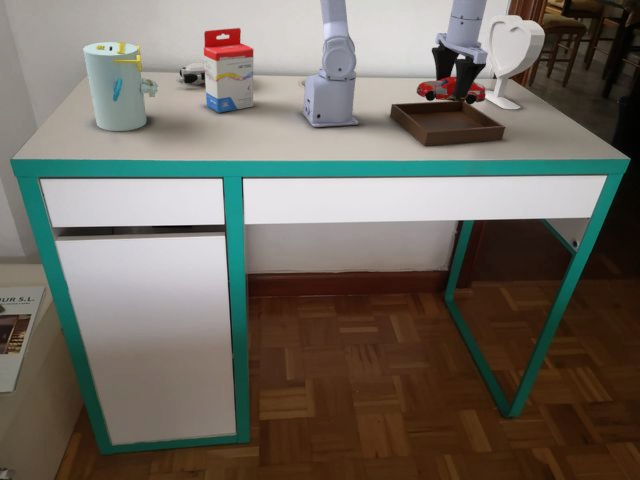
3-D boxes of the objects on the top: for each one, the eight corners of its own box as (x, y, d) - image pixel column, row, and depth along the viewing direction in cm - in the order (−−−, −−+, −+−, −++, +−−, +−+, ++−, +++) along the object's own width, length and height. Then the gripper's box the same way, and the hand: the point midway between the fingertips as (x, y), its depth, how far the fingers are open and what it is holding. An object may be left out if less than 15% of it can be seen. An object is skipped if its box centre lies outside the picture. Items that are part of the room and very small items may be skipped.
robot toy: (176, 94, 112) (245, 93, 113) (172, 73, 110) (243, 72, 110) (186, 77, 123) (249, 76, 123) (183, 58, 120) (248, 57, 120)
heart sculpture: (470, 89, 128) (488, 10, 118) (487, 88, 129) (507, 11, 119) (507, 111, 116) (531, 26, 106) (526, 110, 117) (551, 26, 107)
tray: (424, 146, 96) (427, 132, 94) (389, 116, 108) (391, 104, 106) (501, 139, 101) (505, 126, 100) (460, 112, 113) (463, 100, 111)
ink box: (218, 114, 102) (215, 36, 94) (206, 106, 105) (201, 30, 97) (254, 106, 107) (254, 32, 99) (241, 99, 110) (240, 26, 102)
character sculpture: (164, 141, 90) (156, 63, 82) (93, 145, 87) (78, 63, 79) (159, 102, 106) (151, 33, 98) (98, 104, 102) (86, 33, 95)
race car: (416, 100, 99) (420, 79, 97) (414, 91, 104) (417, 71, 102) (485, 106, 99) (490, 85, 97) (480, 97, 104) (485, 77, 101)
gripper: (509, 25, 89) (489, 103, 96) (463, 9, 100) (449, 79, 107) (474, 26, 86) (456, 104, 94) (431, 8, 98) (419, 80, 105)
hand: (450, 91), depth 101 cm, fingers closed on race car, 6 cm apart
